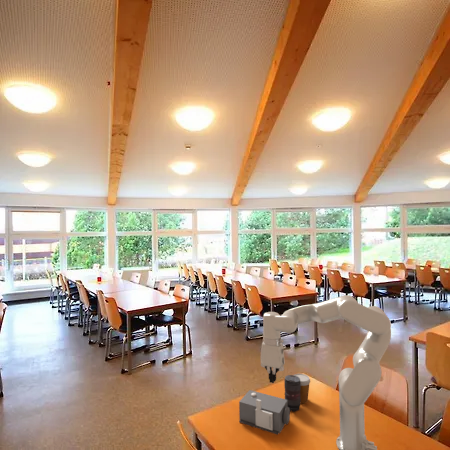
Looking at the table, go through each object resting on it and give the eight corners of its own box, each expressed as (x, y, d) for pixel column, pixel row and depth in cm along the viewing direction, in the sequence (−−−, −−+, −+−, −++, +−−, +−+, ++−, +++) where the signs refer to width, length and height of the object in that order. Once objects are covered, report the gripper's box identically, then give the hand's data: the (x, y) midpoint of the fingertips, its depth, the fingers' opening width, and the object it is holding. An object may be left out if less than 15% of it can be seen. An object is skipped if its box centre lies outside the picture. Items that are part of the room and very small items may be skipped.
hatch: (273, 429, 137) (272, 403, 137) (272, 430, 136) (271, 404, 136) (256, 424, 141) (256, 398, 141) (255, 425, 140) (255, 400, 140)
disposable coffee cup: (288, 397, 165) (288, 375, 165) (302, 393, 169) (302, 371, 169) (300, 407, 156) (299, 383, 156) (314, 402, 160) (314, 379, 160)
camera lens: (301, 413, 151) (300, 382, 151) (284, 411, 152) (284, 381, 152) (300, 404, 159) (300, 375, 159) (284, 402, 160) (284, 373, 160)
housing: (291, 419, 146) (290, 399, 146) (282, 436, 134) (281, 413, 134) (249, 407, 156) (249, 388, 156) (238, 422, 145) (238, 401, 145)
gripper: (290, 340, 137) (291, 381, 136) (259, 335, 144) (260, 374, 144) (285, 346, 130) (286, 389, 130) (253, 340, 137) (253, 381, 137)
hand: (272, 381), depth 137 cm, fingers closed
